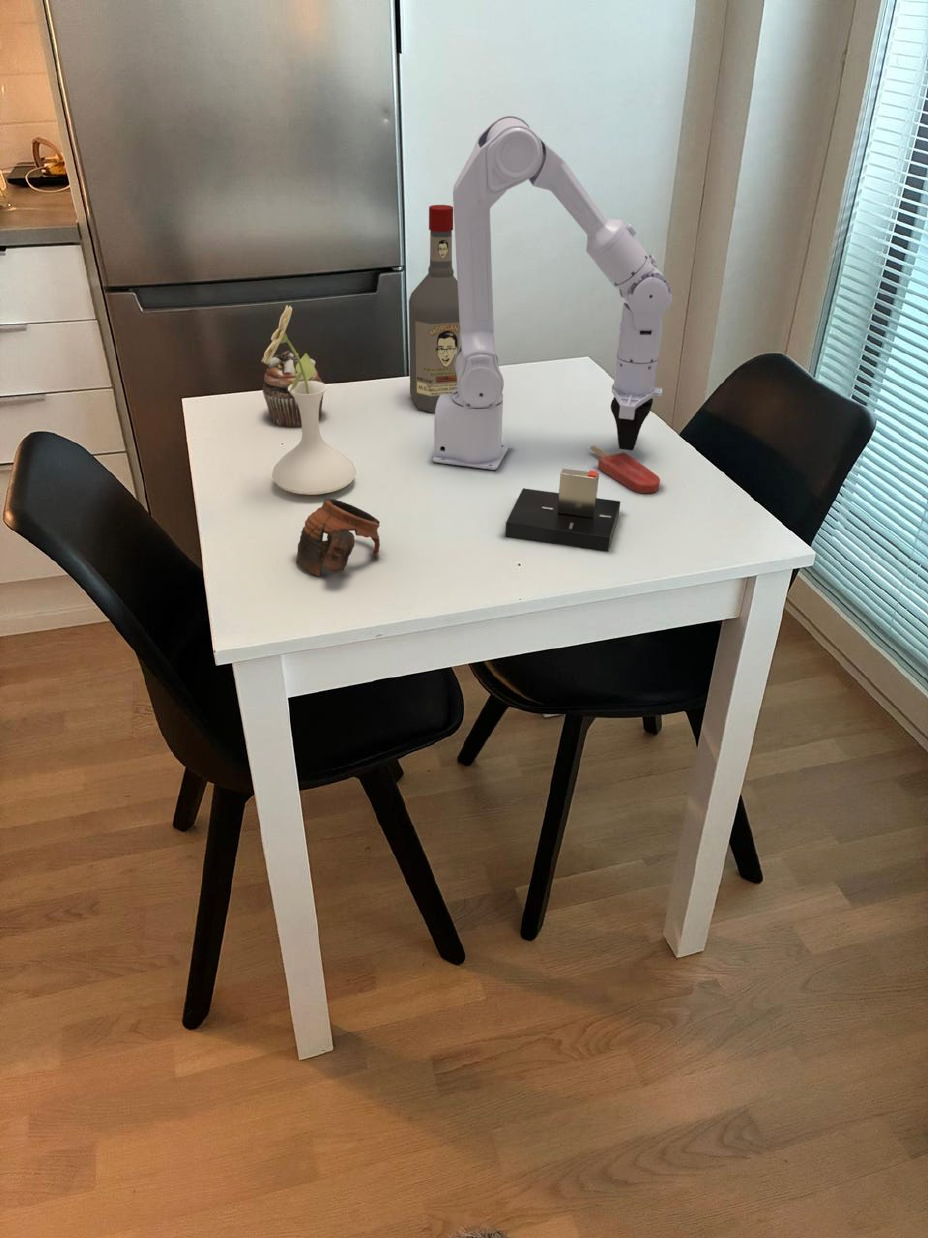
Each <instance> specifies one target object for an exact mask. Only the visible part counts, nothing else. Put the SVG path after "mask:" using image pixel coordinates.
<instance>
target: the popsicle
mask: <svg viewBox="0 0 928 1238" xmlns="http://www.w3.org/2000/svg"><path fill="white" fill-rule="evenodd" d="M589 449H590V450H591V451H593V452H594V453H596V454H597V455H599V456H600V457H599V458H598V464H597V468H598V470H600V471H601V472H603V473H604V474H606V475H608V476H609V477H611V478H612V479H613V480H615V481H617V482H618V483H620V484H622V485H623V486H625V487H626V488H627V489H630V490H631V491H633V492H636V493H639V494H652V493H656V492H657V491H659V489H660V483H661V478H660V477H659V476H658V475H657V474H656V473H655V472H653V471H652V470H650V469H649V468H647V466H645V465H643V464H642V463H641V462H639V461H637V459H635V458H633V457H632V456H631V455H630V454H628V453H627V452H624V451H623V452H618V453H614V454H608V453H606V452H604V451H603V450H602V449H600V448H599V447H597V446H595V445H590V446H589Z"/></svg>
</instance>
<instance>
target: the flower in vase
mask: <svg viewBox="0 0 928 1238" xmlns="http://www.w3.org/2000/svg"><path fill="white" fill-rule="evenodd" d="M292 312H293V306H291V305H289V306H288V304H286V306H285V307H284V311H283V313H282V314H281V315H280V318H279V322H278V328H277V329H275V331H274V332H273V333H272V335H271V337H270V340H271V341H272V342H271V343H270V344H269V346H268V347H267V348H266V350H265V351H264V354H263V357H262V359H261V363H263V364H265V365H268V363H269V361H270V360H271V358H272V357H273V355H275V353H276V352H277V350H278V348H279V346H280V344H285V343H286V344H287V345H288V347H289V348H290V350H292V352H293V353H294V355H295V357H296V359H297V361H298V363H297V365H296V371H297V373H298V375H297V376H296V377H295V379H294V381H293V384H291V385H290V386H289V387H288V391H289V392H290V393H291V394H292V395H293V397H294V398H295V400H296V402H297V404H298V407H299V410H300V415H301V421H302V427H301V439H300V441H299V442H298V444H297V445H296V446H295V447H293V448H292V449H290V450H289V451H288V452H287V453H285V455H283V456H282V457H281V458H280V459H279V460H278V461H277V462H276V464H275V465H274V467H273V470H272V473H271V478H272V480H273V482H274V483H275V484H276V485H277V487H279V488H281V489H282V490H284V491H286V492H289V493H293V494H299V495H312V496H313V495H314V496H315V495H323V494H329V493H333V492H337V491H340V490H342V489H344V488H345V487H347V486H349V485H350V484H351V483H352V482H353V480H354V479H355V477H356V475H357V469H356V466H355V464H354V462H353V461H352V460H351V459H350V458H349V457H348V456H347V455H346V454H344V453H343V452H341V451H340V450H338V449H336V448H335V447H333V446H331V445H330V444H329V443H326V441H325V440H324V439H323V438H322V435H321V431H320V420H319V406H320V401H321V398H322V396H323V397H324V394H325V392H326V391H327V389H328V386H327V384H326V383H324V382H322V383H321V382H317V381H307V380H309V379H310V378H311V377H313V376H314V375H315V373H316V370H317V369H316V367H315V366H314V365H313V363H312V362H311V360H310V359H311V357H310V358H309V357H308V355H309V354H308V353H307V352H306V353H304V354H305V355H304V356H303V357H302V358H301V359H299V357H298V355H299V354H298V352H297V351H296V349H295V348H294V346H293V344H292V343H291V341H290V340H289V339H288V335H287V333H286V330H287V328H288V325H289V322H290V320H291V316H292ZM297 354H298V355H297ZM300 378H302V379H304V381H301V382H299V380H300Z"/></svg>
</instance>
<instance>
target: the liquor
mask: <svg viewBox="0 0 928 1238" xmlns="http://www.w3.org/2000/svg"><path fill="white" fill-rule="evenodd" d="M428 230H429V231H430V232H429V233H430V234H429V235H430V237H429V242H430V243H429V244H430V245H429V247H430V248H429V266H428V268H427V270H428V272H427V274H426V276H425V277H424V278H423V279H422V280H421V281H420V282H419V284H418V285H416V287H415V289H413V291H411V293H410V296H409V298H408V331H409V332H408V335H409V336H408V343H409V344H408V345H409V347H408V348H409V351H408V353H409V393H410V396H411V398H412V400H413V401H414V403H415V405H416V407H417V409H418V410H420V411H423V412H427V413H431V414H432V413H433V414H435V409H436V404H437V401H438V399H439V397H440V395H442V394H452V392H453V391H454V390H455V388H456V387H457V375H456V372H455V368H454V359H455V356H456V354H457V352H458V349H459V344H460V339H459V332H460V322H459V302H458V283H457V277H455V276H454V273H455V271H454V269H453V231H454V206H453V205H448V204H432V205H429V207H428Z"/></svg>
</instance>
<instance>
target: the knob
mask: <svg viewBox="0 0 928 1238" xmlns="http://www.w3.org/2000/svg"><path fill="white" fill-rule="evenodd" d="M599 479H600V472H598V471H596V470H589V471H587V470H578V469H570V468H562V470H561V472H560V475H559V487H558V493H559V497H558V510H557V513H562V514H569V515H576V516H584V517H591V518H593V517H594V514H595V508H596V498H598V488H599Z"/></svg>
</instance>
